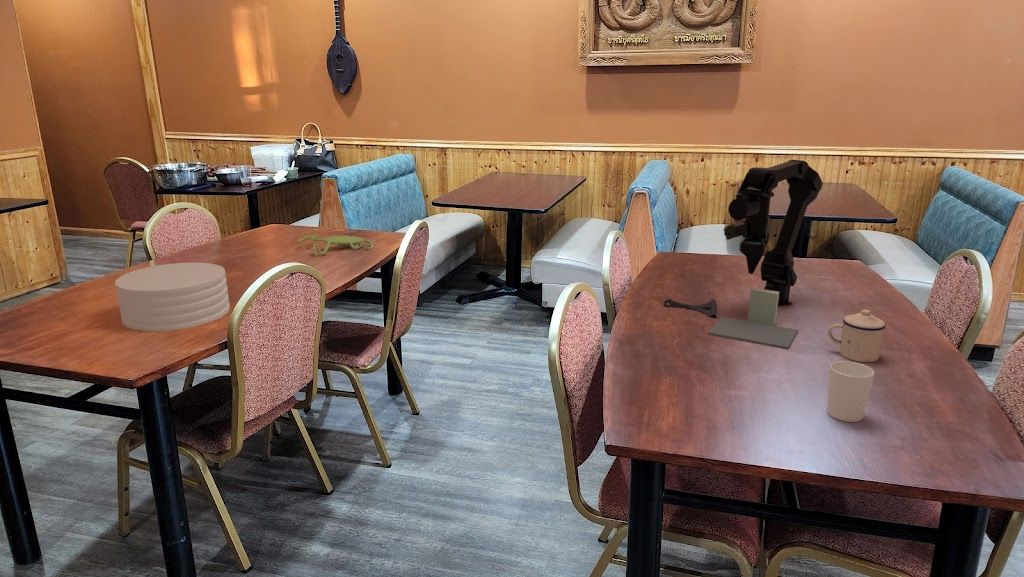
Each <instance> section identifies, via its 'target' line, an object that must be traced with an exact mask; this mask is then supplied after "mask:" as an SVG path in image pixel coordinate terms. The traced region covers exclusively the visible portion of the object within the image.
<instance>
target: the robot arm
mask: <svg viewBox="0 0 1024 577" xmlns="http://www.w3.org/2000/svg"><path fill="white" fill-rule="evenodd" d="M784 181H786V183H787V185H788V190H787V192H788V195H789V196H788V197H789V199H790V201H789V204H788V208H787V211H786V212H785V216H784V220H783V223H782V224H781V225H782V226H781V228H780V231H779V234H778V237H777V240H776V243H775V246H774V247H773V248H772V249H771V250H766V246H767V245H768V243H769V240H770V234H771V231H770V229H769V228H768V227H769V222H770V207H771V198H774V196H775V193H774V192H773V190H774V189H776V188H777V187H778V186H779V183H781V182H784ZM822 188H823V180H822V178H821V176H820V174H819V173H818V171H816V170H815V169H813V168H812V167H811V166H810V165H809V163H808V161H806V160H800V159H789V160H787V161H786V162H785V161H784V163H779V164H777V165H773V166H770V167H757V166H756V167H753V166H752V167H751V168H749V170H748V171H747V173H746V174H745V176H744V178H743V180H742V183H741V185H740V187H739V189H738V191H737V194H736V198H734V199H733V200H732V201H731V202H729V205H728V207H727V208H728V213H729V216H730V218H732V219H733V220H735V221H739V222H736V223H732V224H727V225H725V226H724V228H723V231H724V233H723V235H724V236H725V239H726V240H727V241H728V240H729V241H730V240H732V239H733V238H738V237H742V238H743V239H742V240H741V242H740V243H739V251H740V253H741V254H742V255H744V256H745V258H746V264H747V272H748V274H750V275H753V274H754V272H755V271H756V269H757V266H758V265H759V263H760V261H761V259H762V257H763V256H764V257H763V259H762V262H761V264H760V269H759V270H760V276H761V277H760V278H761V281H763V282H765V286H764V287H763V289H764V290H770V291H777V292H779V299H778V306H785V305H792V304H793V303H792V301H790V294H791V292H790V291H791V287H795V284H796V283H797V281H798V276H797V273H796V272H795V269H794V266H795V261H794V257H793V250H794V247H795V244H796V241H797V237H798V235H799V232H800V229H801V226H802V223H803V220H804V218H805V214H806V211H807V209H808V206H809V205H811V203H813V202H814V201H815V200H817V197H818V195H819V193H820V192H821V190H822ZM742 220H743V221H742ZM740 221H741V222H740ZM765 250H766V251H765Z"/></svg>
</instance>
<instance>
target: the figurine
mask: <svg viewBox="0 0 1024 577" xmlns="http://www.w3.org/2000/svg"><path fill="white" fill-rule="evenodd" d="M306 239H311V241H312V242H324V243H326V245H325V248H324V250H323V251H321V249H320V247H319V245H318V244H317V243H315V244H313V246H312V247H313V251H314V253H315V256H316V257H318V254H317V250H316V248H317V249H318V252H319V254H321V255H326V254H327V251H328V250H329V248H330V246H331V245H339V246H337V249H341V248H342V247H344V246H345V245H348V247H349V248H352V249H354V250H357V249H359V248H361V246H363V249H365V250H366V251H370V250H373V249H374V247H375V246H374V245H375V244H374V242H373V241H371V240H370V239H366V240H365V239H364V238H363V237H360V236H355V235H351V234H350V235H333V236H328V237H323V238H322V237H320V238H319V235H318V234H316V235H315V234H309V235H305V236H303V237H301V238H299V239H297V240H296V241H297V243H298V244H299V243H301V242H303V241H305V240H306ZM360 243H361V244H360ZM364 243H368V244H369V246H366V245H365V244H364ZM359 244H360V245H359ZM363 244H364V245H363Z"/></svg>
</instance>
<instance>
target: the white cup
mask: <svg viewBox="0 0 1024 577" xmlns="http://www.w3.org/2000/svg"><path fill="white" fill-rule="evenodd" d="M829 365H830V366H829V376H828V384H827V385H828V386H827V387H828V388H827V398H826V399H827V405H826V413H827V414H828V415H829V416H830V417H832V418H834V419H836V420H838V421H842V422H848V423H857V422H860V421H862V420H863V419H864V418H865V412H866V409H867V408H866V407H867V405H868V402H869V398H870V394H871V391H872V385H873V381H874V376H875V371H874V370H873V368H871V367H870V366H868V365H866V364H862V363H860V362H856V361H849V360H848V361H846V360H839V361H834V362H832V363H830V364H829Z"/></svg>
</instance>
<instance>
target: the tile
mask: <svg viewBox="0 0 1024 577" xmlns="http://www.w3.org/2000/svg"><path fill="white" fill-rule="evenodd" d="M778 299H779V292H777V291H770V290H764V288H762V289H761V288H757V287H756V288H755V287H752V288H751V289H750V295H749V304H748V311H747V312H748V313H747V321H750V322H756V323H762V324H767V325H773V326H776V322H777V314H778V313H777V312H778V306H779V305H778Z"/></svg>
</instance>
